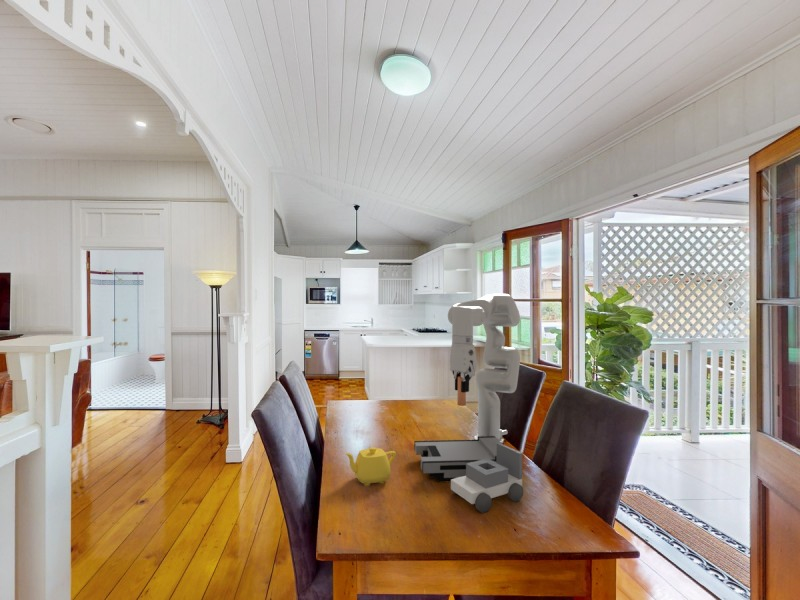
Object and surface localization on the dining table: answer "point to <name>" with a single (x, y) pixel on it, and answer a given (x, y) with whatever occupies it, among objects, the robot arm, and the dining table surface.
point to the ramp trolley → (491, 479)
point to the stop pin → (461, 394)
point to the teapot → (372, 465)
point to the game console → (454, 455)
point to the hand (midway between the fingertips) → (461, 390)
